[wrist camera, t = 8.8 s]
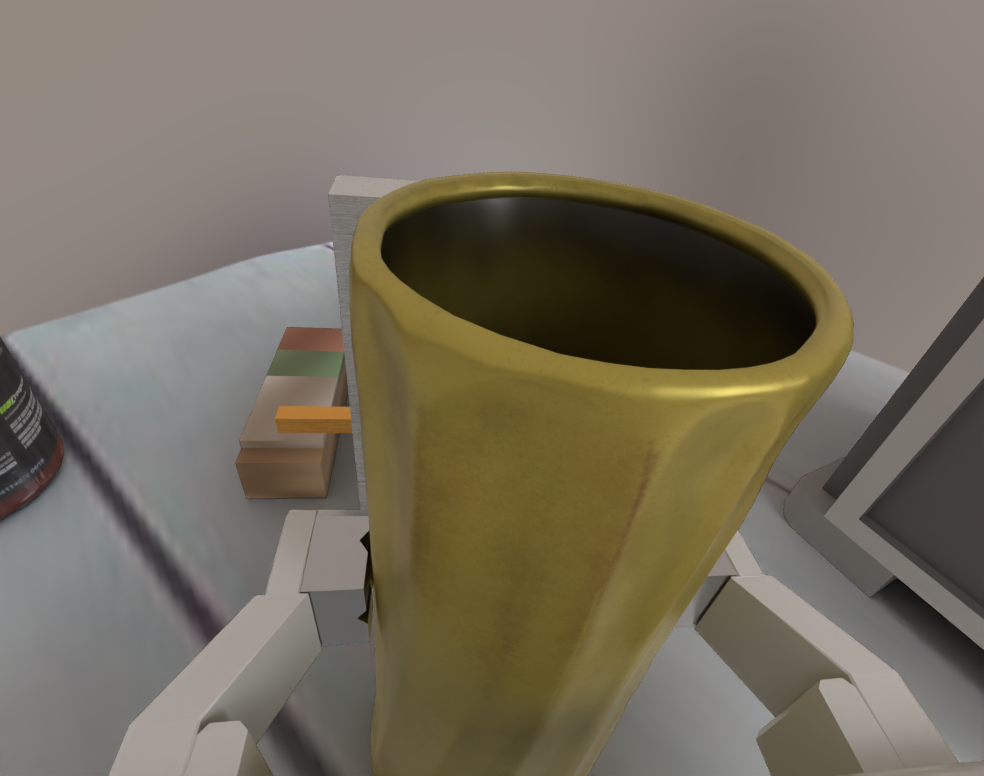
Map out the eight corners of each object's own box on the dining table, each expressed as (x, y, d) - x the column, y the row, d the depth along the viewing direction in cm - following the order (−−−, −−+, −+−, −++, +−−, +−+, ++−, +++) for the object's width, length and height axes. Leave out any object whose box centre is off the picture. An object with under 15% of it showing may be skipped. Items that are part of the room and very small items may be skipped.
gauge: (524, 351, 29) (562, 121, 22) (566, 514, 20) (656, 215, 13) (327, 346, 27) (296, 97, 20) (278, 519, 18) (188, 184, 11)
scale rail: (353, 364, 27) (350, 326, 25) (326, 497, 20) (319, 455, 18) (295, 363, 26) (288, 324, 25) (246, 498, 19) (233, 455, 18)
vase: (382, 620, 16) (348, 146, 7) (565, 616, 17) (732, 179, 8) (357, 883, 11) (182, 427, 3) (613, 860, 12) (1135, 443, 3)
